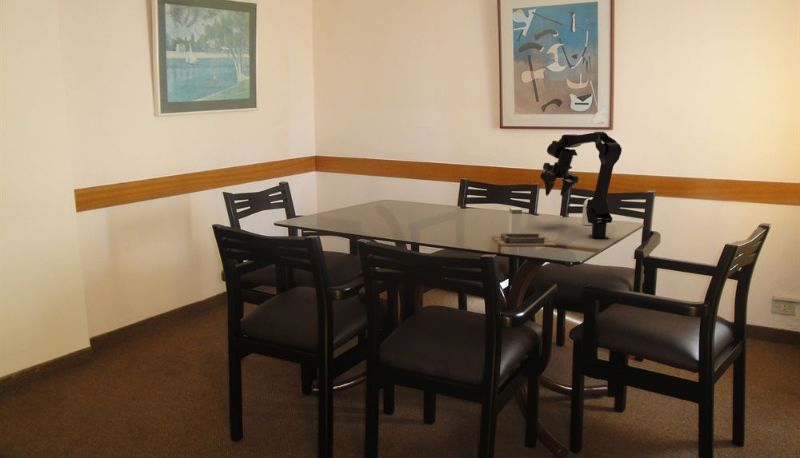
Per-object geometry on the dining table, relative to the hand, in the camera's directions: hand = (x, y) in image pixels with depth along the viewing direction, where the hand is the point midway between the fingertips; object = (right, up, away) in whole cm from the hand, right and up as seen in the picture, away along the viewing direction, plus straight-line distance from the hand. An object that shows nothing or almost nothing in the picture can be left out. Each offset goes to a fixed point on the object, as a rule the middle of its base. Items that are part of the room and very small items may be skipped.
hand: (554, 195), depth 315 cm
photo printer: (+19, -13, +9) cm, 25 cm away
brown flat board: (-19, -20, -33) cm, 43 cm away
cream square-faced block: (-20, -17, -18) cm, 32 cm away
